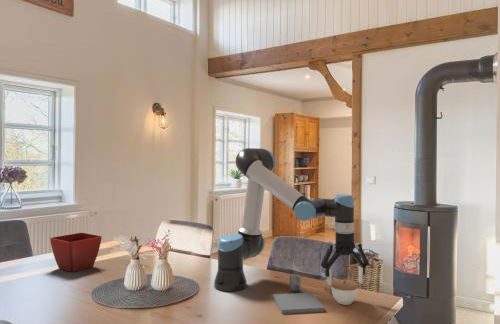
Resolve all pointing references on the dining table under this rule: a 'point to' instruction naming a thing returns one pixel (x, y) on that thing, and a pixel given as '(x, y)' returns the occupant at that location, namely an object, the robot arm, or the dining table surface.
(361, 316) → the dining table surface
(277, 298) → the charcoal board
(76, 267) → the plant pot
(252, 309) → the dining table surface
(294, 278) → the dark grey metal cylinder
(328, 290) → the walnut block
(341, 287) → the lidded jar
